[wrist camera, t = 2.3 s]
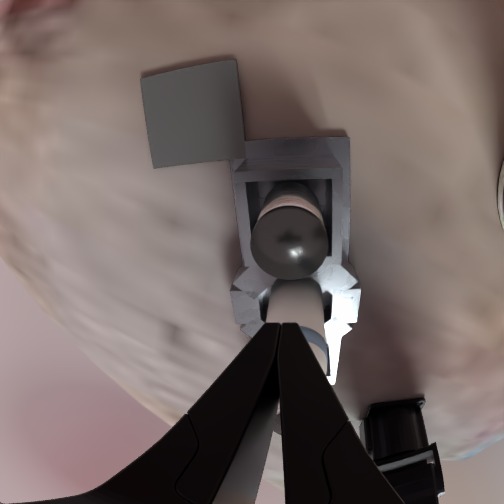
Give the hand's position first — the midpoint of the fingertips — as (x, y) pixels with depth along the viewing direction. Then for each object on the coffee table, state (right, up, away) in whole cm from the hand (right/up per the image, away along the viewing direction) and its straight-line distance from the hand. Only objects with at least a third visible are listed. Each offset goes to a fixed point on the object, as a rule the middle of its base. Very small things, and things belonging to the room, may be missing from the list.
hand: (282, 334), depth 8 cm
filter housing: (+2, -1, +14) cm, 14 cm away
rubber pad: (-4, +10, +9) cm, 14 cm away
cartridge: (+2, -1, +13) cm, 14 cm away
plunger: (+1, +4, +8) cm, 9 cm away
